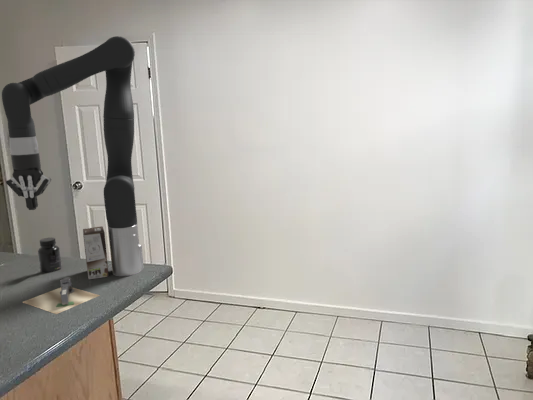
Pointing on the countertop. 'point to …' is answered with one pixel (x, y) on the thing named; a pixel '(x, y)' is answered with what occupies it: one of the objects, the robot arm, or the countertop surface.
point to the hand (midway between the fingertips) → (32, 209)
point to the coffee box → (95, 252)
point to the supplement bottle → (49, 256)
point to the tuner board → (54, 303)
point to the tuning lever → (65, 289)
